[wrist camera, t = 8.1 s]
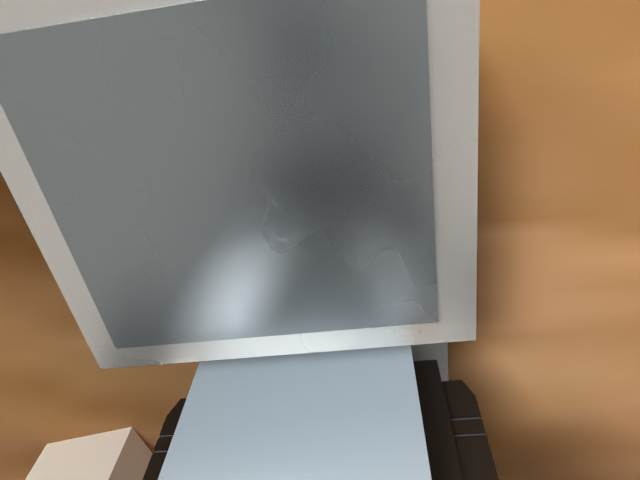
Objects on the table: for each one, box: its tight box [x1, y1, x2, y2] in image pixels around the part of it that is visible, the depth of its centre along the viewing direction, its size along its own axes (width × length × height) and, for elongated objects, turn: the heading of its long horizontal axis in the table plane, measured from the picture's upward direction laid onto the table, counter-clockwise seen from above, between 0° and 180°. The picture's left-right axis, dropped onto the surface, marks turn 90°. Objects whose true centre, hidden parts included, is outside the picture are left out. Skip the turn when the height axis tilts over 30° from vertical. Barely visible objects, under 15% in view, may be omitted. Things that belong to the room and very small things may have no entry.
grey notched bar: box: [0, 0, 480, 381], centre depth 13 cm, size 20×7×7 cm, turn 9°
